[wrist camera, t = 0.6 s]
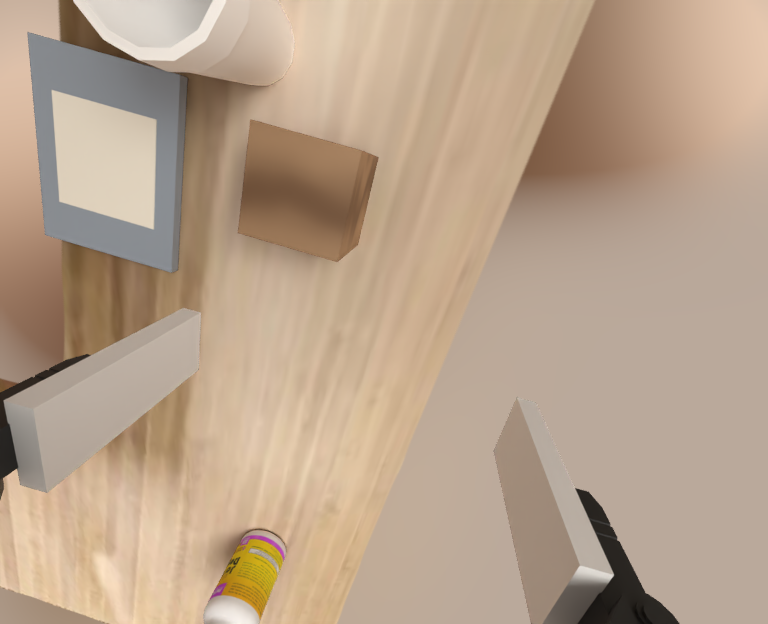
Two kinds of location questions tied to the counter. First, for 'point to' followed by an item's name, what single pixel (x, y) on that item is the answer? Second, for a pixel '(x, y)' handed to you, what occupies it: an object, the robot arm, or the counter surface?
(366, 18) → the counter surface
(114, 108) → the blue flat board
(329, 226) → the walnut cube
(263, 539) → the supplement bottle
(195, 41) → the foam cup
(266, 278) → the counter surface
